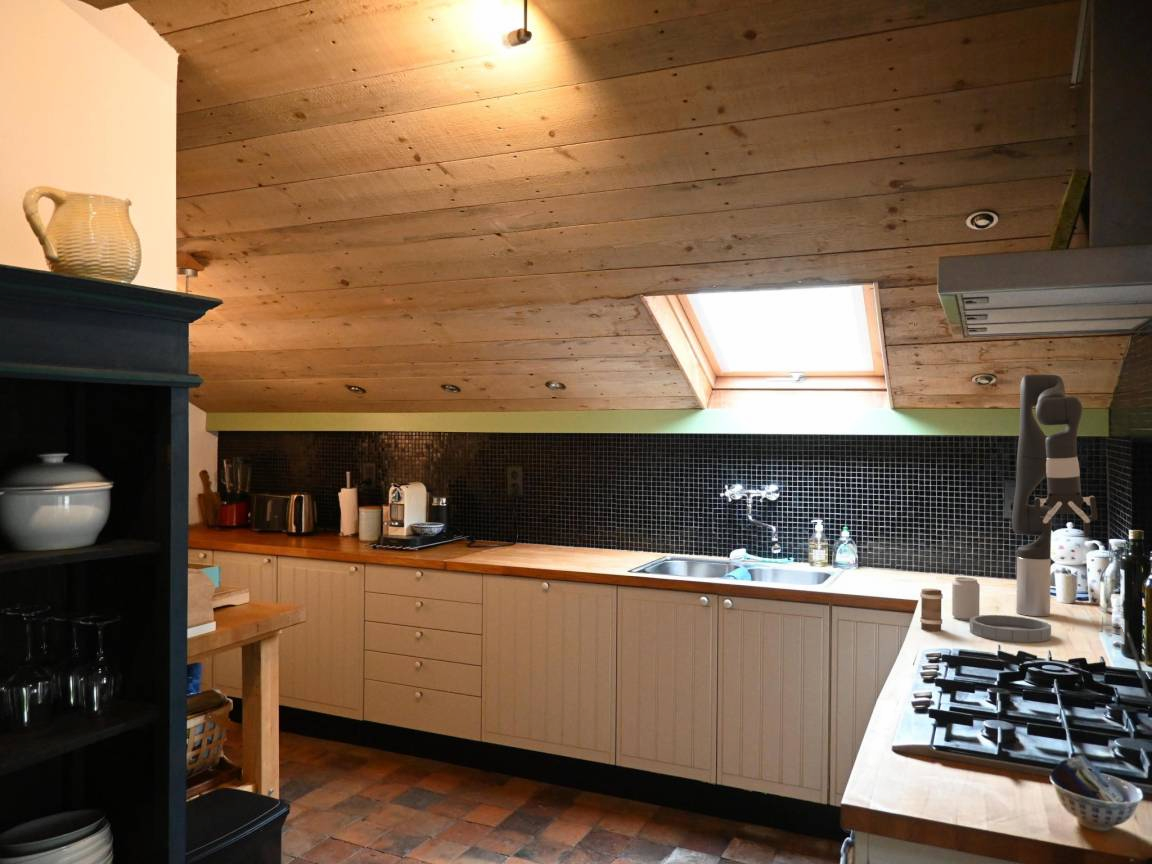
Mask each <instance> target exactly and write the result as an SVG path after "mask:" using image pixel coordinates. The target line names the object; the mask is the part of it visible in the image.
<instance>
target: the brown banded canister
mask: <svg viewBox="0 0 1152 864" xmlns="http://www.w3.org/2000/svg"><path fill="white" fill-rule="evenodd" d="M943 596H944V595H943V594H942V590H941V589H937V588H921V592H920V598H921V605H920V606H921V609H920V611H921V615H920V618H919V619H920V620H919V621H920V623H921V624H920V628H921V630H923V631H927V632H941V631H942V624H943V619H942V599H943Z"/></svg>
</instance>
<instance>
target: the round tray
mask: <svg viewBox="0 0 1152 864" xmlns="http://www.w3.org/2000/svg"><path fill="white" fill-rule="evenodd" d="M969 632H970V634H972V635H974V636H976V637H980V638H982V639H983V638H984V639H988V640H994V641H999V642H1005V641H1010V642H1009V643H1016V642H1020V643H1019V644H1037V643H1046V642H1049V641H1051V639H1052V625H1051V624H1049V623H1048V622H1047V621H1046V622H1045V621H1042V620H1039V619H1035V618H1029V617H1025V616H1015V615H1007V614H1006V615H1003V614H1002V615H1001V614H985V615H984V614H982V615H981V614H979V616H974V617H972V618H970V621H969Z"/></svg>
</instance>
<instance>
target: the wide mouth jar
mask: <svg viewBox="0 0 1152 864" xmlns="http://www.w3.org/2000/svg"><path fill="white" fill-rule="evenodd" d="M951 585H952V589H951V591H952V593H951V595H952V597H951V600H952V601H951V604H952V605H951V609H952V610H951V612H952V613H951V616H953V617H954V619H957V620H960V621H969V622H970V618H972V617H974V616H980V596H981V595H980V594H981V593H980V589H981V587H980V583H979V582H978V579H977V578H975V577H974V578H973V577H966V576H962V577H961V576H959V577H958V576H957V577H954V581H953V582H952V583H951Z"/></svg>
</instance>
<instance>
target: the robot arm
mask: <svg viewBox="0 0 1152 864" xmlns="http://www.w3.org/2000/svg"><path fill="white" fill-rule="evenodd" d="M1019 395H1020V396H1019V434H1018V443H1017V454H1016V478H1015V479H1016V481H1015V489H1014V498H1013V506H1012V514H1011V528H1012V531H1013V532H1014V534H1016V535H1019V536H1021V535H1023V536H1024V535H1025V536H1038V538H1036V540H1035V541H1033V542H1030V543H1028V544H1024V545H1021V546H1018V548H1017V549H1016V607H1015V608H1016V613H1017V614H1019V615H1023V616H1024V615H1025V616H1031V617H1049V616H1050V615H1051V565H1052V563H1051V559H1052V557H1051V554H1052V553H1051V550H1052V545H1051V544H1052V543H1051V542H1052V530H1053V529H1052V527H1053V517H1054V515H1055V514H1058V515H1064V514H1066V515H1073V514H1077V515H1078V516H1079V517H1080V518H1081V519H1082V520H1083V536H1084V538H1088V537H1089V536H1090V535H1091V534H1092V533H1091V523H1092V522H1093V521H1098V519H1099V518H1098V517H1099V516H1098V508H1097V500H1096V497H1095V496H1094V495H1090V496H1086V497H1083V496H1082V494H1081V493H1082V490H1081V478H1080V477H1081V476H1080V475H1081V471H1080V463H1079V460H1078V449H1077V438H1078V437H1077V436H1078V430H1079V426H1080V423H1081V422H1080V421H1081V418H1082V414H1083V404H1082V403H1081V400H1080V399H1079V398H1077V397H1075V396H1067V395H1066V388H1065V383H1064V380H1063V379H1062V378H1061V376H1059V375H1056V374H1025V375H1024V376H1023V377H1022V379H1021V381H1020V391H1019ZM1033 407H1035V415H1034V413H1033ZM1035 417H1036V418H1035ZM1036 419H1037V420H1036ZM1039 424H1041V425H1043V426H1061V425H1062V426H1063V425H1066V427H1065V429H1063V430H1062V431H1060V432H1058V433H1053V434H1050V435H1046V433H1044V431H1043V429H1041V427H1040V426H1039ZM1045 478H1046V486H1047V496H1046V497H1038V496H1037V497H1035V498H1034V504H1027V503H1028V501H1029V497H1030V496H1031V494H1032V493H1033V491H1034V490H1035V489H1036V488H1037V486H1038V485H1039V484H1040V483H1041V482H1042V481H1044V479H1045ZM1084 502H1085V503H1086V505H1087V506H1090V513H1091V515H1089V516H1088V515H1087V514H1086V513H1085V512H1084V511H1083V510H1082V509H1081V508H1080V507H1081V506H1082V504H1083V503H1084ZM1045 503H1046V504H1047V505H1044V504H1045Z"/></svg>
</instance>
